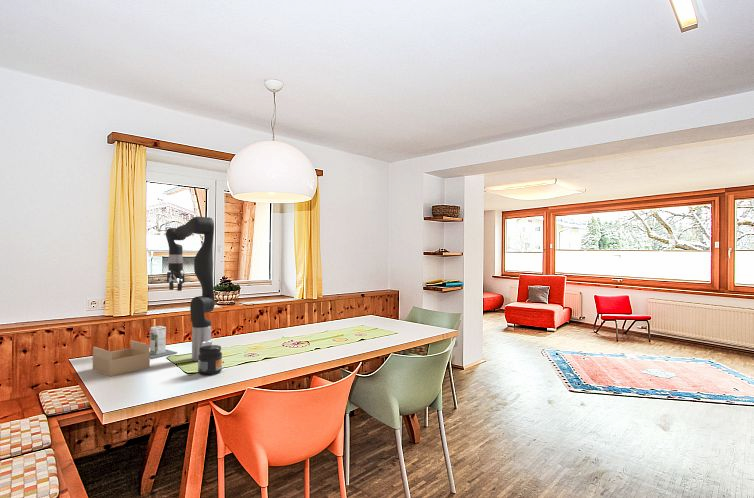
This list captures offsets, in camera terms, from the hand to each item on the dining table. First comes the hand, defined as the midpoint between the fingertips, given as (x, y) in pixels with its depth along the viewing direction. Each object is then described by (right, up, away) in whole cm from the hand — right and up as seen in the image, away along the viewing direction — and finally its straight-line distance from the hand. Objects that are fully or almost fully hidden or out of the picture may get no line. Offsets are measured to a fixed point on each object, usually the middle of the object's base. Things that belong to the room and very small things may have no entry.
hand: (175, 290), depth 233 cm
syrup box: (-3, -34, -12) cm, 36 cm away
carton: (-6, -34, -39) cm, 52 cm away
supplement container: (+39, -35, -45) cm, 68 cm away
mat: (-3, -34, -12) cm, 36 cm away
